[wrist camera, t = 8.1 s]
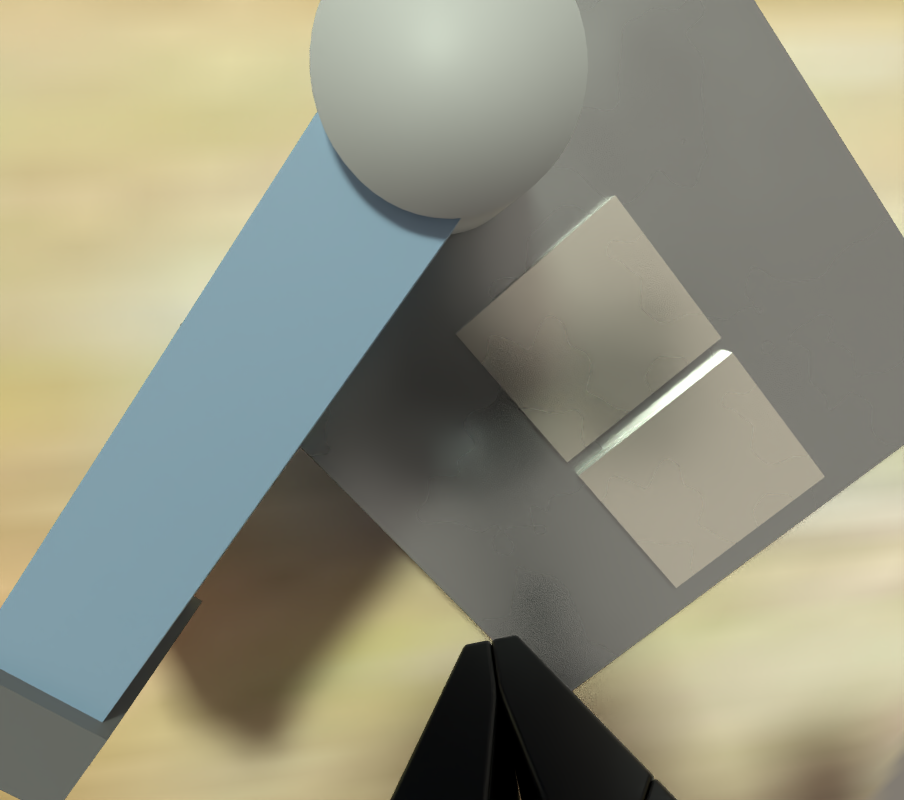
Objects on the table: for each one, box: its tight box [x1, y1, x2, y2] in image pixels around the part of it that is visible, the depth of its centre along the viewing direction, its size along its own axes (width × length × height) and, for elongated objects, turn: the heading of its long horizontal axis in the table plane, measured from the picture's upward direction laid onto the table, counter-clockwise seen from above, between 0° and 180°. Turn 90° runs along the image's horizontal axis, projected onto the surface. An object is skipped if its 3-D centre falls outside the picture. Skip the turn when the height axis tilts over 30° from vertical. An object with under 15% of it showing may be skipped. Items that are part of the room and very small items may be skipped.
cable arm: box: [0, 0, 588, 800], centre depth 9 cm, size 13×3×4 cm, turn 143°
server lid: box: [180, 0, 904, 691], centre depth 12 cm, size 12×12×2 cm
